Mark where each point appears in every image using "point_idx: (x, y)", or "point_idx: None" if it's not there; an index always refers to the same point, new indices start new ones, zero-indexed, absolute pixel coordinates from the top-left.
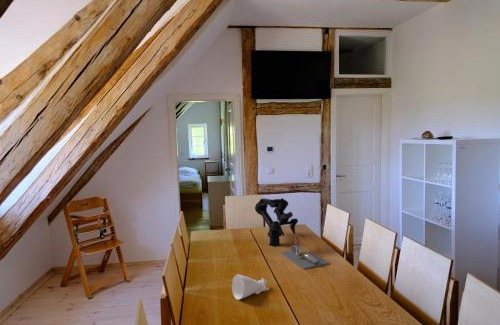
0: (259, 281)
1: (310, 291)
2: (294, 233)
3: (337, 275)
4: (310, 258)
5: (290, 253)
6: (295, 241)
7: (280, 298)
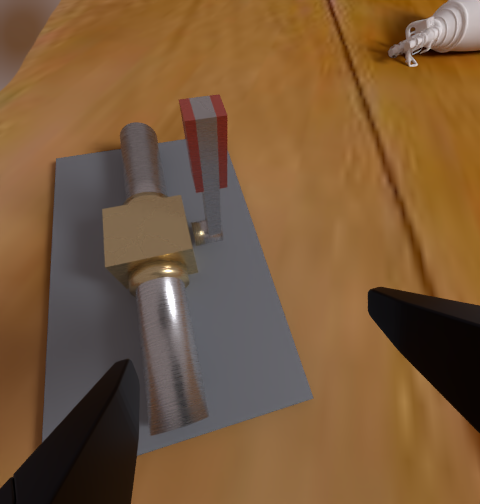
0: (437, 22)
1: (257, 32)
2: (132, 368)
3: (107, 81)
4: (156, 153)
5: (236, 346)
6: (226, 149)
7: (351, 25)
